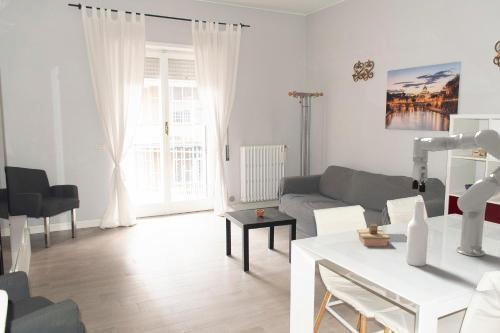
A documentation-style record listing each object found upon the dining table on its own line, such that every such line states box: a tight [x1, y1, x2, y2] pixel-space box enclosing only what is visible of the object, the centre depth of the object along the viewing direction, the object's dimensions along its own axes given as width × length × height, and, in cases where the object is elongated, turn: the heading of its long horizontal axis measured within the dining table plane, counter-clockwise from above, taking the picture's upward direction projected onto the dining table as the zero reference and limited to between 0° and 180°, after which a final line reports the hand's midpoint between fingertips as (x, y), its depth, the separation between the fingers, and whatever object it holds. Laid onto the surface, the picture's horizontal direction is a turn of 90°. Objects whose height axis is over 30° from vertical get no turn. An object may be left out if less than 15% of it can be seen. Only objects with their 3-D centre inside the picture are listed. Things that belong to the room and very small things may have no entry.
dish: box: [358, 234, 388, 247], centre depth 217 cm, size 12×12×4 cm
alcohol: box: [405, 199, 429, 267], centre depth 185 cm, size 9×9×30 cm
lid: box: [356, 223, 390, 239], centre depth 216 cm, size 14×14×6 cm
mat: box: [386, 233, 407, 243], centre depth 226 cm, size 16×16×1 cm
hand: (418, 190), depth 220 cm, fingers open, 9 cm apart
